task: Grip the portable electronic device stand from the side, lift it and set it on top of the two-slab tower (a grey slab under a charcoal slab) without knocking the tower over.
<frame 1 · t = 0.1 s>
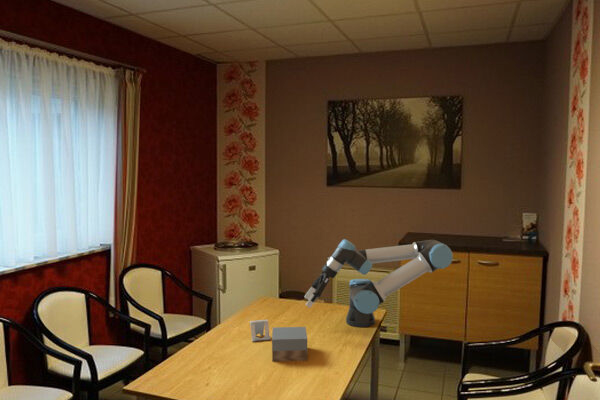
hand: (307, 302, 242), 15 cm above the table, tool tilted 35°, fingers open, 13 cm apart
tower bottom block: (289, 354, 216), on the table, touching tower top block
tower top block: (289, 343, 216), point 5 cm above the table, touching tower bottom block
portable electronic device stand: (259, 338, 235), on the table
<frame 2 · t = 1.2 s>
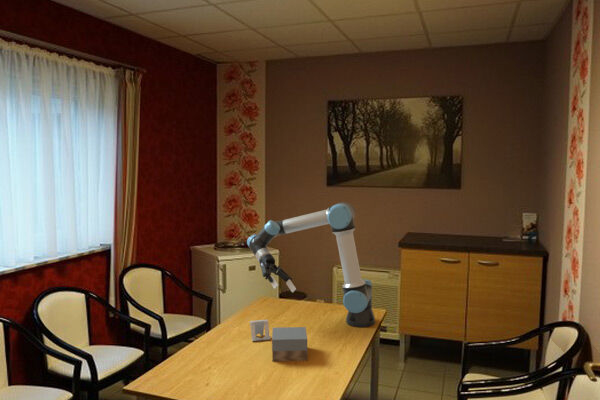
hand: (285, 288, 236), 24 cm above the table, tool tilted 55°, fingers open, 13 cm apart
nothing on the table moved.
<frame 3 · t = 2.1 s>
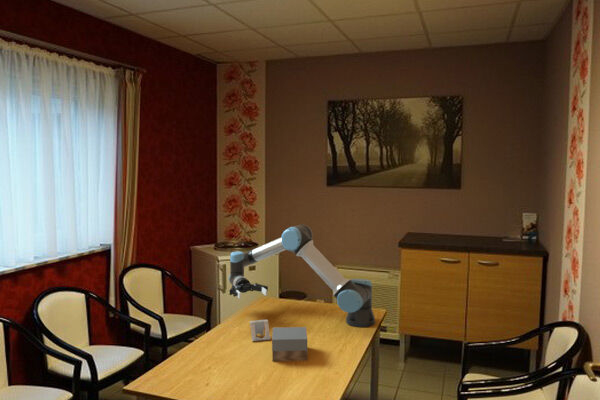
hand: (253, 294, 243), 19 cm above the table, tool horizontal, fingers open, 13 cm apart
nothing on the table moved.
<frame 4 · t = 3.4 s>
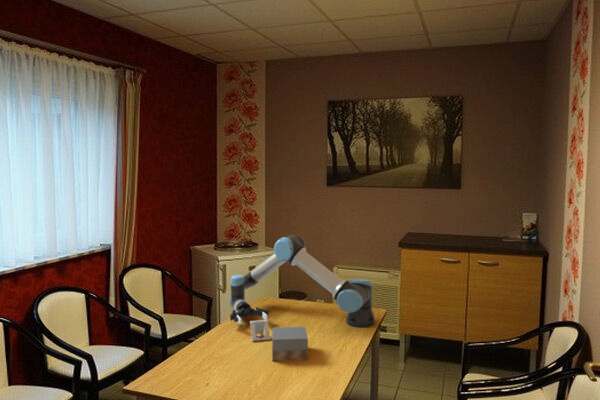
hand: (254, 320, 244), 6 cm above the table, tool horizontal, fingers open, 13 cm apart
tower bottom block: (289, 355, 216), on the table
tower top block: (289, 343, 216), point 4 cm above the table
everything else where it was.
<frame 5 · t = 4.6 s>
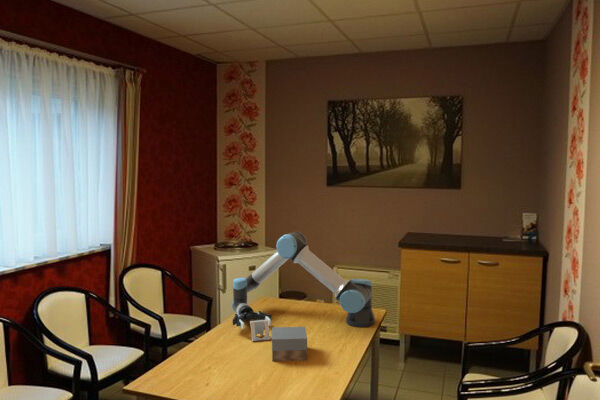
hand: (256, 324, 238), 6 cm above the table, tool horizontal, fingers open, 13 cm apart
nothing on the table moved.
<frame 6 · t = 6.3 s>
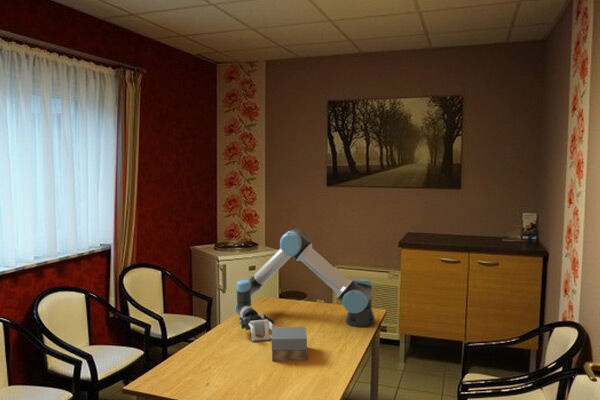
hand: (262, 329, 231), 6 cm above the table, tool horizontal, fingers closed on portable electronic device stand, 9 cm apart
tower bottom block: (289, 355, 216), on the table, touching tower top block
tower top block: (289, 343, 216), point 4 cm above the table, touching tower bottom block
portable electronic device stand: (259, 338, 235), on the table, touching gripper
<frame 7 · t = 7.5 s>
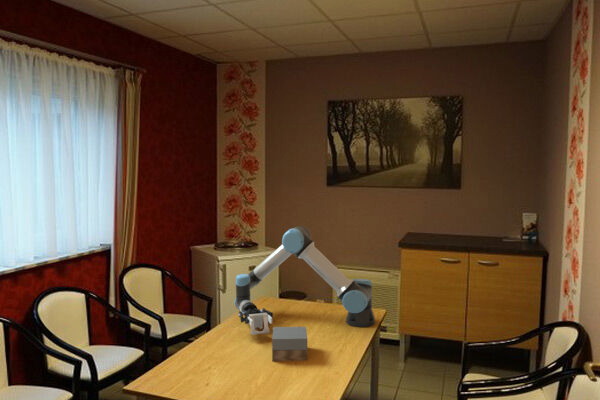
hand: (261, 322, 230), 9 cm above the table, tool horizontal, fingers closed on portable electronic device stand, 9 cm apart
portable electronic device stand: (258, 332, 235), point 3 cm above the table, touching gripper
everything else where it was.
when the fingers open (17 cm above the table, at t = 12.7 s): portable electronic device stand drops 2 cm, resting on tower top block.
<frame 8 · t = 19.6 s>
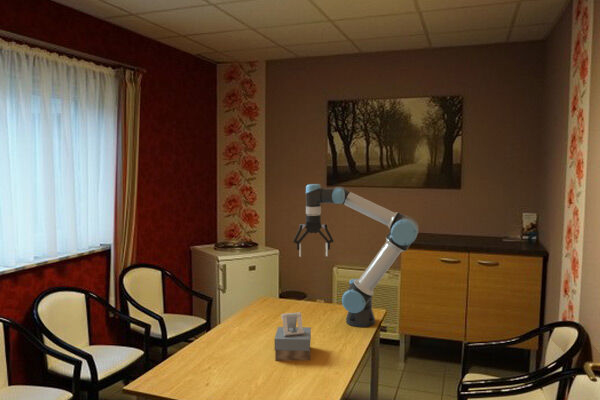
hand: (313, 256, 248), 37 cm above the table, tool pointing down, fingers open, 13 cm apart
tower bottom block: (292, 354, 217), on the table, touching tower top block
tower top block: (293, 343, 216), point 4 cm above the table, touching portable electronic device stand, tower bottom block
portable electronic device stand: (292, 333, 216), point 9 cm above the table, touching tower top block
at the end: portable electronic device stand inside the target area on the tower top block (0.4 cm from its centre), point 4.8 cm above the tower top block's base; tower top block 0.3 cm off-centre on the tower bottom block, point 5.0 cm above the tower bottom block's base; portable electronic device stand tilted 0° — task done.
